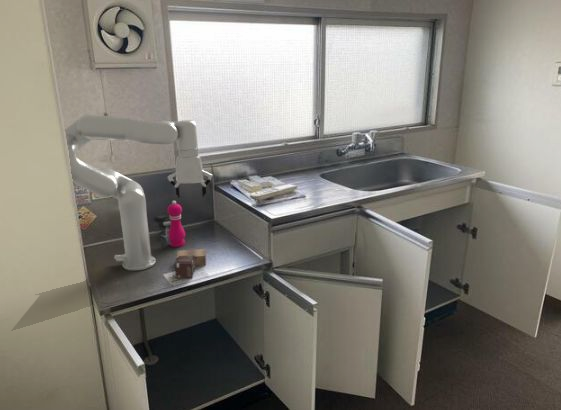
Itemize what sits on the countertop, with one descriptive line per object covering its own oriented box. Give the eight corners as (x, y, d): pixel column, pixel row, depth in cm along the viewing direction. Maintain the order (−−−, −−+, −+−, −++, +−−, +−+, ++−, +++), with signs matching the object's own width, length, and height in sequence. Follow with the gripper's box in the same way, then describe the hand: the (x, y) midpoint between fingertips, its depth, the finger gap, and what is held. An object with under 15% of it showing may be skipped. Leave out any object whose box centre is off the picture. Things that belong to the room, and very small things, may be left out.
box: (195, 269, 170) (192, 278, 163) (179, 269, 170) (176, 278, 163) (194, 254, 168) (191, 263, 161) (178, 255, 168) (174, 263, 161)
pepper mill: (188, 241, 198) (185, 198, 192) (182, 247, 191) (178, 203, 185) (172, 240, 199) (169, 198, 193) (166, 247, 192) (162, 202, 186)
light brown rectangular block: (176, 267, 172) (176, 257, 171) (178, 259, 179) (177, 250, 178) (205, 265, 173) (204, 255, 172) (206, 258, 180) (205, 248, 179)
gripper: (163, 155, 166) (167, 199, 171) (209, 154, 167) (212, 198, 172) (167, 152, 173) (171, 194, 178) (211, 150, 174) (214, 193, 179)
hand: (191, 196), depth 175 cm, fingers open, 9 cm apart
